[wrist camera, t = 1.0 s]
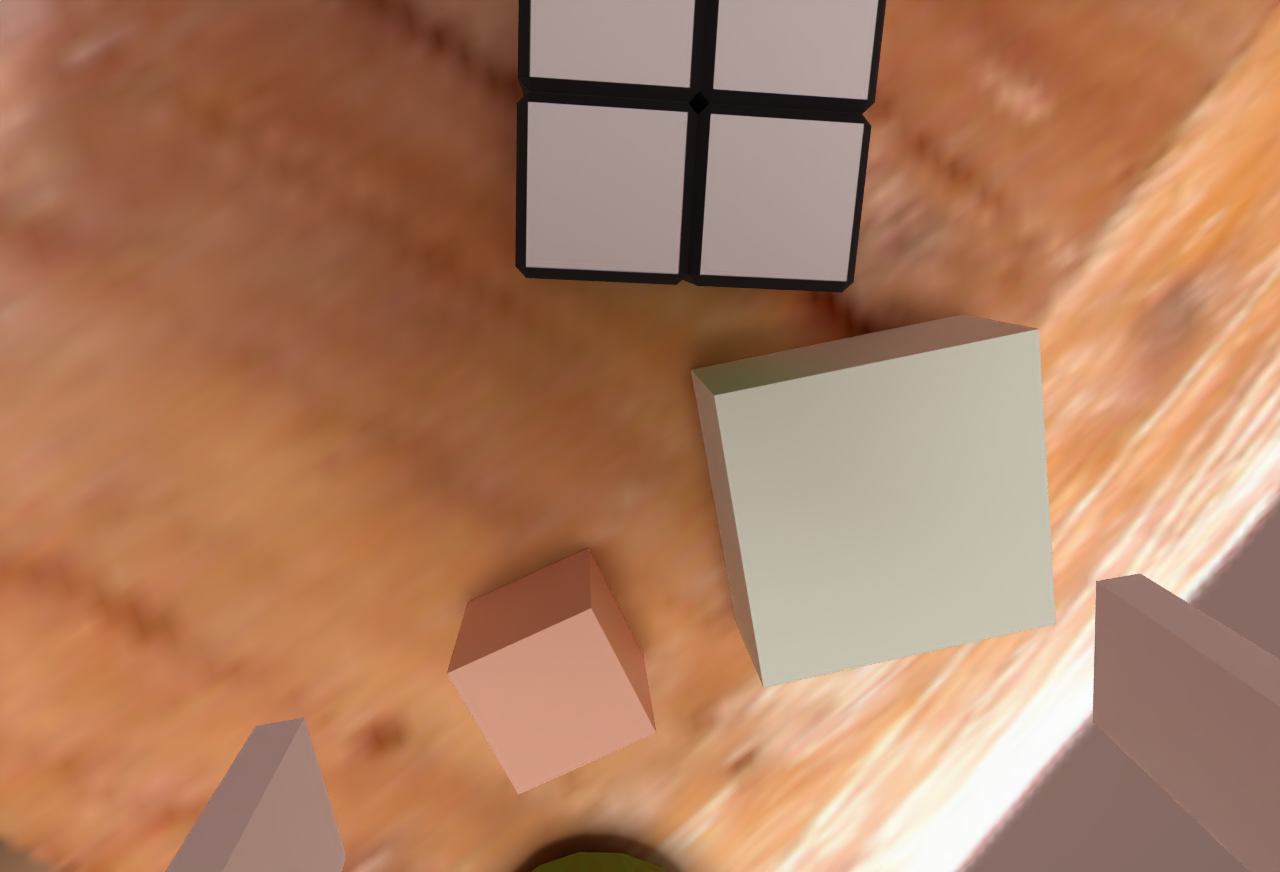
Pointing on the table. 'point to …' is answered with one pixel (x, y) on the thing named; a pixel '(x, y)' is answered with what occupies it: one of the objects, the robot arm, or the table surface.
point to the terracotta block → (552, 672)
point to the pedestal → (881, 493)
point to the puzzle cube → (694, 140)
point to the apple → (598, 863)
